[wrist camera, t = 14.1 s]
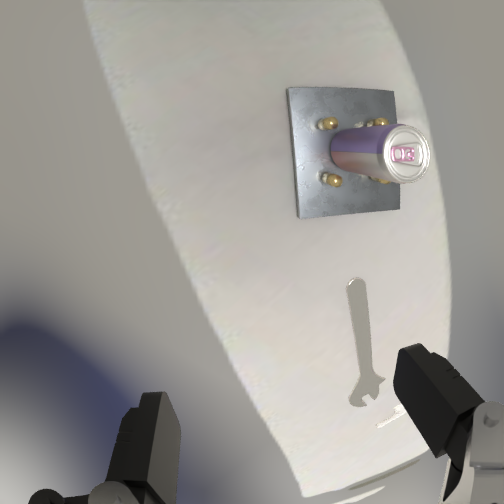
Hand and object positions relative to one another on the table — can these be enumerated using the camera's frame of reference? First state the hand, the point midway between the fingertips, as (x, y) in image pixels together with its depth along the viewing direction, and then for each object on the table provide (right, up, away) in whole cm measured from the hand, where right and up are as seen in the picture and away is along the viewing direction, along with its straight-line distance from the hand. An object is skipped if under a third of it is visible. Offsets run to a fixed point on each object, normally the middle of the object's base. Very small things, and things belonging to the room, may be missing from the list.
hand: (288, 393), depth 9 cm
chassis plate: (+12, +19, +32) cm, 39 cm away
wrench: (+19, -14, +44) cm, 50 cm away
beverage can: (+12, +19, +30) cm, 38 cm away
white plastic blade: (+35, -32, +52) cm, 70 cm away
